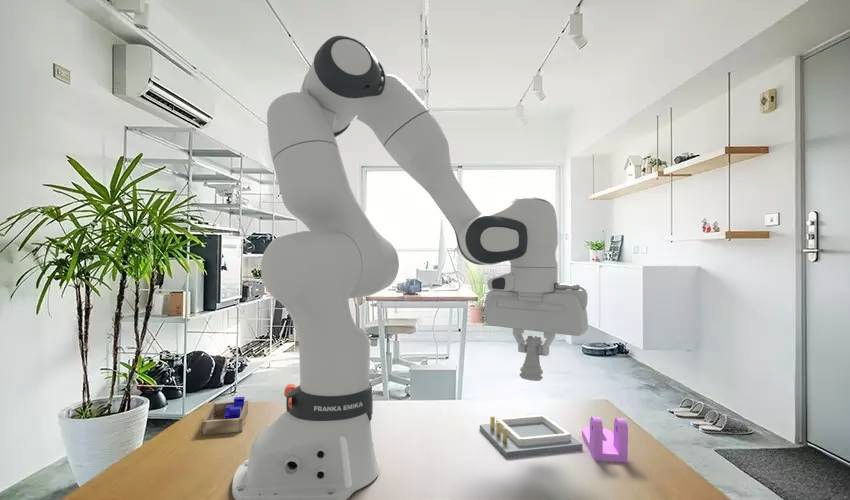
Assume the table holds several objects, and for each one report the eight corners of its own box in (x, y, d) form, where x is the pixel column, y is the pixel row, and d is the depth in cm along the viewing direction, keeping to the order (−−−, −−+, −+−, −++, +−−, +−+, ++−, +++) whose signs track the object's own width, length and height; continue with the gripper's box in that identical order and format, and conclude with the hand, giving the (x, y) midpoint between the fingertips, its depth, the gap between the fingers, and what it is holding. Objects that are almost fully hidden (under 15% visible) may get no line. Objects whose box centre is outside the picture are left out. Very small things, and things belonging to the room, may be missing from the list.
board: (506, 457, 85) (506, 437, 85) (479, 429, 98) (479, 412, 98) (582, 449, 89) (582, 430, 89) (547, 423, 102) (547, 406, 101)
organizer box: (202, 434, 94) (202, 422, 94) (212, 414, 105) (212, 403, 105) (242, 431, 96) (242, 418, 96) (248, 412, 106) (248, 400, 106)
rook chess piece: (537, 376, 96) (541, 335, 96) (546, 381, 92) (550, 339, 92) (515, 375, 95) (519, 334, 96) (523, 380, 91) (527, 337, 91)
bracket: (627, 463, 84) (628, 422, 84) (594, 460, 85) (594, 421, 85) (608, 433, 97) (609, 398, 97) (579, 432, 98) (580, 397, 97)
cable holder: (227, 416, 104) (227, 397, 104) (244, 415, 105) (244, 396, 105) (221, 430, 97) (221, 410, 97) (240, 428, 97) (240, 409, 97)
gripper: (593, 283, 90) (593, 358, 90) (496, 278, 102) (495, 344, 103) (581, 285, 85) (580, 365, 85) (480, 280, 97) (480, 349, 98)
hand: (533, 353), depth 94 cm, fingers closed on rook chess piece, 3 cm apart
